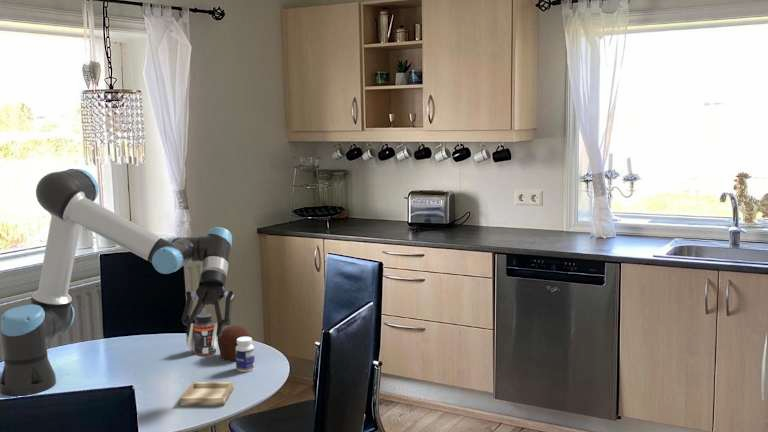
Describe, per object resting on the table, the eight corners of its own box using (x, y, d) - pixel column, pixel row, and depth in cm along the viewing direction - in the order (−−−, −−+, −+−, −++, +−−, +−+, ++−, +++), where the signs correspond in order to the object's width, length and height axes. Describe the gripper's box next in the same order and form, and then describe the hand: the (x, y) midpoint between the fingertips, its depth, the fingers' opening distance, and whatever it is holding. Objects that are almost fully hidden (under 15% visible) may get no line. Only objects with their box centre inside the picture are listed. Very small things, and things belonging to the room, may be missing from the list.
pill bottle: (232, 369, 236) (231, 338, 235) (247, 364, 240) (246, 334, 239) (243, 373, 232) (242, 342, 231) (258, 368, 237) (257, 338, 235)
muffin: (254, 360, 244) (252, 330, 243) (219, 364, 241) (217, 334, 240) (249, 349, 256) (248, 321, 254) (216, 353, 252) (215, 324, 251)
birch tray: (180, 405, 208) (180, 398, 208) (192, 389, 220) (192, 382, 220) (223, 405, 208) (223, 398, 207) (233, 389, 220) (233, 382, 219)
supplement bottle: (211, 358, 209) (209, 318, 207) (191, 357, 210) (189, 317, 208) (220, 351, 214) (218, 312, 213) (200, 350, 216) (198, 311, 214)
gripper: (247, 281, 224) (238, 352, 211) (184, 282, 225) (171, 353, 211) (243, 268, 218) (233, 340, 205) (178, 268, 219) (164, 340, 205)
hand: (201, 346), depth 208 cm, fingers closed on supplement bottle, 6 cm apart
